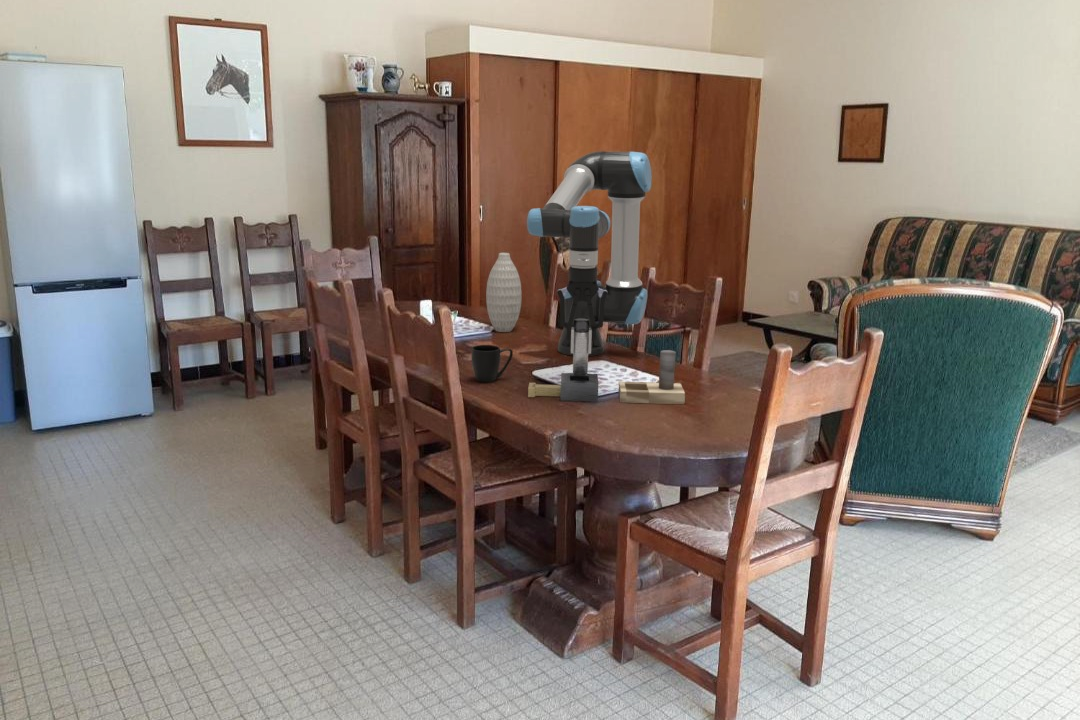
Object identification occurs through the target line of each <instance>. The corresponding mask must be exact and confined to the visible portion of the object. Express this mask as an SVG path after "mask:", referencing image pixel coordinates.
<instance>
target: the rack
mask: <svg viewBox="0 0 1080 720" xmlns="http://www.w3.org/2000/svg"><path fill="white" fill-rule="evenodd" d="M676 354H677V352H676V351H674V350H671V349H667V350H665V349H663V350H661V351H660V354H659V355H660V356H659V357H660V358H659V371H658V373H659V376H658V382H652V381H651V382H645V381H618V391H619V392H618V396H619V402H620V403H624V404H625V403H628V404H629V403H631V404H634V403H635V404H657V405H658V404H661V405H685V402H686V401H685V399H686V392H685V390H684V388H683V386H682V383H680V382H675V370H676Z"/></svg>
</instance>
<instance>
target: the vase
mask: <svg viewBox="0 0 1080 720" xmlns="http://www.w3.org/2000/svg"><path fill="white" fill-rule="evenodd" d="M485 293H486V294H485V295H486V296H485V297H486V309H487V314H488V318H489V320H490V323H491V325H492V328H493V329H494V330H495V331H496V332H498V333H509V332H510V333H511V332H512V331H513V329H514V328H515V326H516V324H517V322H518V320H519V316H520V313H521V307H522V282H521V277H520V275H519V271H518V269H517V267H516V265H515V264H514V262H513V261H512V258H511V255H510V253H509V252H499V253H498V257H497V259H496V260H495V263H494V265H493V266H492V268H491V270H490V272H489V275H488V278H487V282H486V292H485Z"/></svg>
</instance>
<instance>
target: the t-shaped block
mask: <svg viewBox="0 0 1080 720" xmlns="http://www.w3.org/2000/svg"><path fill="white" fill-rule="evenodd" d="M528 383H529V384H528V388H527V398H536V397H561V384H537V383H536V382H528Z"/></svg>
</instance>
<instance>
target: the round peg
mask: <svg viewBox="0 0 1080 720" xmlns="http://www.w3.org/2000/svg"><path fill="white" fill-rule="evenodd" d="M588 341H589V320H588V319H575V320H574V353H573V357H572V373H573V375H575V376H586V375H588V374H589V373H588V372H589V368H588V367H589V356H588Z"/></svg>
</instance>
